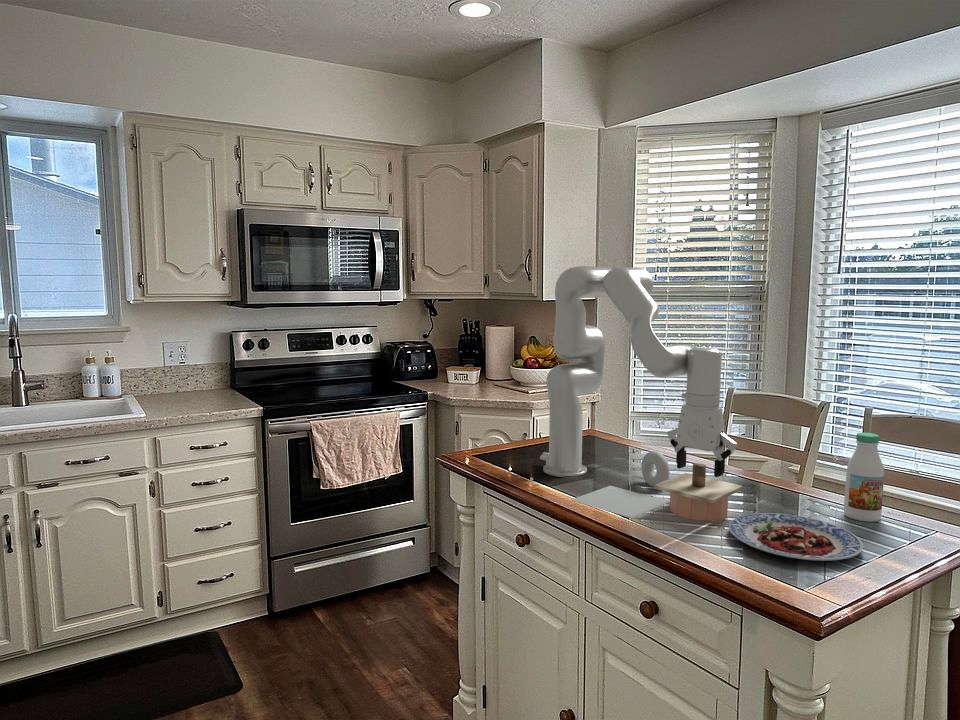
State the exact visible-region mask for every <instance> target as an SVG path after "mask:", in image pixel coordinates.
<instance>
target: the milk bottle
mask: <svg viewBox="0 0 960 720" xmlns="http://www.w3.org/2000/svg"><path fill="white" fill-rule="evenodd" d="M855 442H856V443H857V444H856V448H855V450H854V452H853V454H852V455H851V457H850V459H849V460H848V463H847V467H846V475H845V484H844V485H845V487H844V501H843V514H844V516H845V517H847V518H849V519H852V520H856V521H861V522H867V523H871V522H872V523H875V522H879V521H880V520H881V518H882V511H883V510H882V508H883V498H884V497H883V496H884V481H885V469H884V464H883V461H882V459H881V457H880V454H879V450H878V446H879V443H880V436H879V435H878V434H876V433H873V432H872V433H871V432H858V433H857V434H856V441H855Z"/></svg>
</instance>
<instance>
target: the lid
mask: <svg viewBox="0 0 960 720" xmlns="http://www.w3.org/2000/svg"><path fill="white" fill-rule="evenodd" d="M706 474H707V465H706V464H704V463H700V462H699V463H697V462H695V463H693V464H692V472H691V473H690V472H689V473H688V472H684V473H682V474H679V475H677V476H674V477H671V478H669V479H668V480H666V481H663V482H661V483H658V484H656V485H654V487H653V489H655V490H658V491H662V492H667V493H669V494H670V493H674V494H678V495H682V496H686V497H689V498H693V499H697V500H701V501H705V502H709V503H715V502H717V501H719V500H721V499H724V498H726V497H728V498H729V497H730V496H732V495H733V494H736V493H739V492H741V491H742V490H744V485H740V484H736V483H732V482H728V481H723V480H720V479H714V478H710V477H707V476H706Z"/></svg>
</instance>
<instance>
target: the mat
mask: <svg viewBox="0 0 960 720" xmlns="http://www.w3.org/2000/svg"><path fill="white" fill-rule="evenodd" d="M571 501H573V502H575V503H580V504H582V505H586V506H590V507H593V508H597V509H599V510H602V511H605V512H609V513H612V514H616V515H620V516H622V517H626V518H630V519H633V518H636V517H638V516H640V515H644V514H646V513H647V512H650V511H652V510H655V509H656V508H657V509H658V508H659V507H662V506H664V505H666V504H668V503H669V504H670V500H664V499H661V498H658V497H654V496H650V495H647V494H643V493H640V492H636V491H632V490H628V489H624V488H621V487H617V486H613V485H607V486H604V487H603V488H599V489H597V490H594V491H591V492H589V493H585V494H583V495H580V496H576V497H574V498H572V499H571Z"/></svg>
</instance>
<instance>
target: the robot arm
mask: <svg viewBox="0 0 960 720" xmlns="http://www.w3.org/2000/svg"><path fill="white" fill-rule="evenodd" d="M653 288H654V280H653V277H652V276H651V274H650V273H649V271H647V270H646V269H644V268H642V267H628V266H627V267H623V266H622V267H620V266H619V267H614V266H613V267H611V266H591V265H589V266H587V265H585V266H573V267H569V268H567V269H565V270H564V271H562V272H561V274H560V275H559V276H558V278H557V281H556V283H555V287H554V298H555V320H554V322H555V324H554V333H553V334H554V336H553V337H554V338H553V347H554V349H553V350H554V353H555V355H556V356H557V357H558V358H560V359H562V360H577V362H573V363H571V362H570V363H563V364H562V363H561V364H558V365H556V366H554V367H552V368H551V369H550V370H549V371H548V373H547V376H546V379H545V381H546V388H547V394H548V401H549V403H548V404H549V407H548V408H549V415H548V417H549V429H548V430H549V431H548V433H549V434H548V435H549V436H548V437H549V438H548V452H546V451H543V452H542V453H541V455H540V456H539V460H541V461H544V462H545V465H543V472H544V473H545V474H547V475H548V476H554V477H559V478H561V477H562V478H566V477H577V476H582V475H584V474H586V473H587V472H588V468H587V466H585V465H583V464H582V463H583V459H582V458H583V423H584V422H583V420H584V418H583V408H582V405H581V402H580V400H579V398H578V397H579V396H586V395H590V394H594V393H595V392H597V391H598V390H600V388H601V386H602V383H603V379H604V378H603V377H604V370H605V369H604V365H605V356H606V355H605V353H606V341H605V337H604V335H603V332H602V331H601V330H600V328H598V327H597V326H594V325H590V324H589V325H588V324H586V321H587V319H586V317H587V311H586V307H585V304H584V302H583V300H582V299H583V298H609V300H610V301H611V302H612V303H613V305H614V306H615V308H616V309H617V311H619V313H620V314H621V316H622V318H624V320H625V321H626V323H627V324H628V326H629V328H630V329H629V339H630V343H631V347H632V350H633V352H634V354H635V355H636V357H637V359H638V360H639V361H640V363H641V364H642V366H643V367H644V368H645V369H646V371H648V372H649V373H650V374H651V375H652V376H654V377H656V378H661V379H663V378H664V379H665V378H671V377H679V376H686V391H685V392H683V393H681V397H680V398H681V399H684V400H685V401H684V402H685V403H684V404H682V406H681V409H680V412H679V418H678V423H677V427H676V428H673V429H672V430H668V431H667V436H668V439H669V441H670V444H671V447H673V449H674V451H675V452H676V457H675V459H676V460H675V463H676V468H677V469H680V470H681V469H682V468H685V467H686V466H687V449H686V448H690V449H694V450H700V451H705V452H712V453H713V455H714V456H715V458H716V459H714V469H713V471H714V472H713V476H714V477H715V478H719V477H721V476H723V475H724V473H725V471H726V469H725V468H726V459H728V457H730V456H731V455H732V454H733V453H734V451H735V450H736V448H737V447H738V442H736V441H734V439H732V438H731V437H729V436H728V435H727V434H726V433H725V420H724V413H723V408H722V406H721V407H720V403H721V402H720V400H721V399H720V398H721V381H722V379H721V378H722V377H721V376H722V352H721V351H720V350H719V349H717V348H712V347H696V346H694V345H689V344H670V345H664V344H663V343H662V342H661V340H660V339H659V338H658V336H657V335H656V333H655V332H654V329H653V327H652V323H653V322H654V321H655V320H656V318H657V317H658V315H659V311H660V309H659V306H658V304H657V303H656V302H655V300H654V299H653V297H652V296H650V295H651V294H652V292H653ZM725 444H726V445H727V448H726V450H724V446H725Z"/></svg>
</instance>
